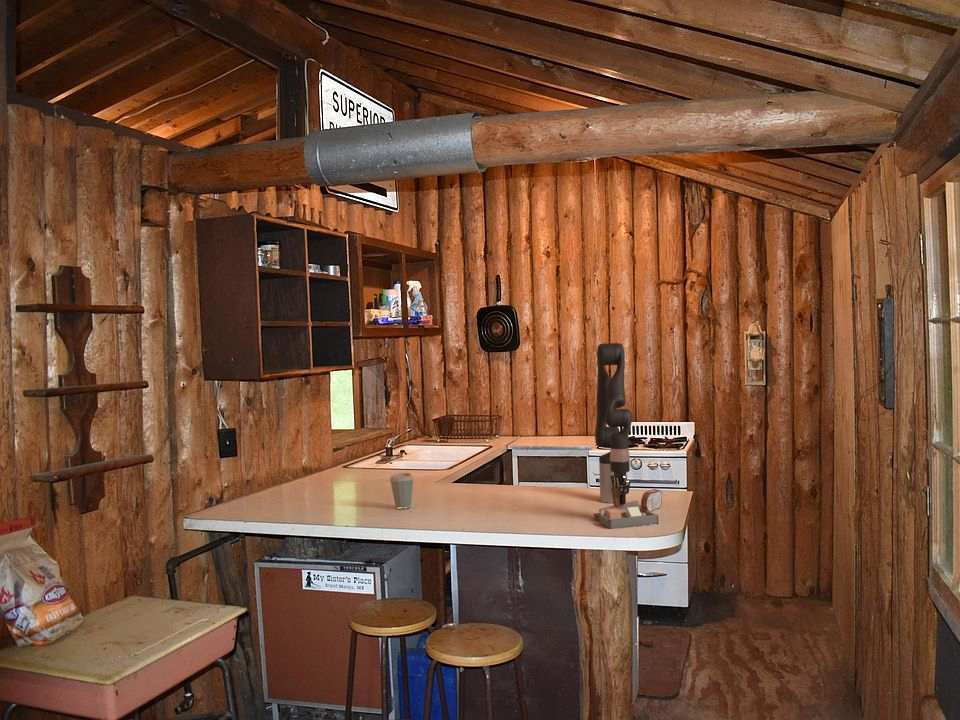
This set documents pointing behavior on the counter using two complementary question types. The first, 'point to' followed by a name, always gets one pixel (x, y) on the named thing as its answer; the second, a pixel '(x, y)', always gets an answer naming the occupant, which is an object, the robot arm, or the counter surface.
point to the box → (629, 521)
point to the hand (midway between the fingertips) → (620, 502)
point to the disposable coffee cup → (402, 489)
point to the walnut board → (597, 516)
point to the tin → (651, 500)
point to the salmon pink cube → (613, 513)
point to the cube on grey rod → (618, 503)
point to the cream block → (633, 512)
